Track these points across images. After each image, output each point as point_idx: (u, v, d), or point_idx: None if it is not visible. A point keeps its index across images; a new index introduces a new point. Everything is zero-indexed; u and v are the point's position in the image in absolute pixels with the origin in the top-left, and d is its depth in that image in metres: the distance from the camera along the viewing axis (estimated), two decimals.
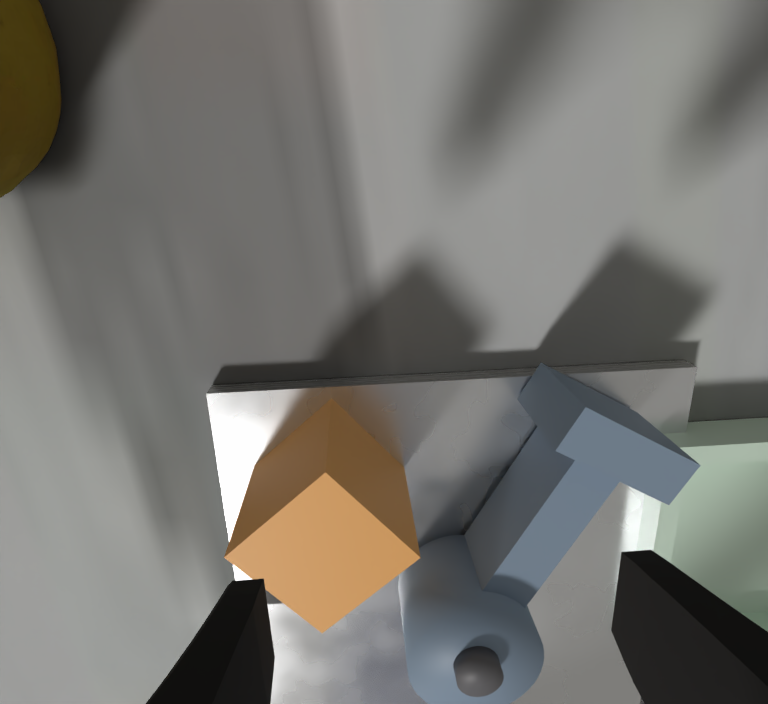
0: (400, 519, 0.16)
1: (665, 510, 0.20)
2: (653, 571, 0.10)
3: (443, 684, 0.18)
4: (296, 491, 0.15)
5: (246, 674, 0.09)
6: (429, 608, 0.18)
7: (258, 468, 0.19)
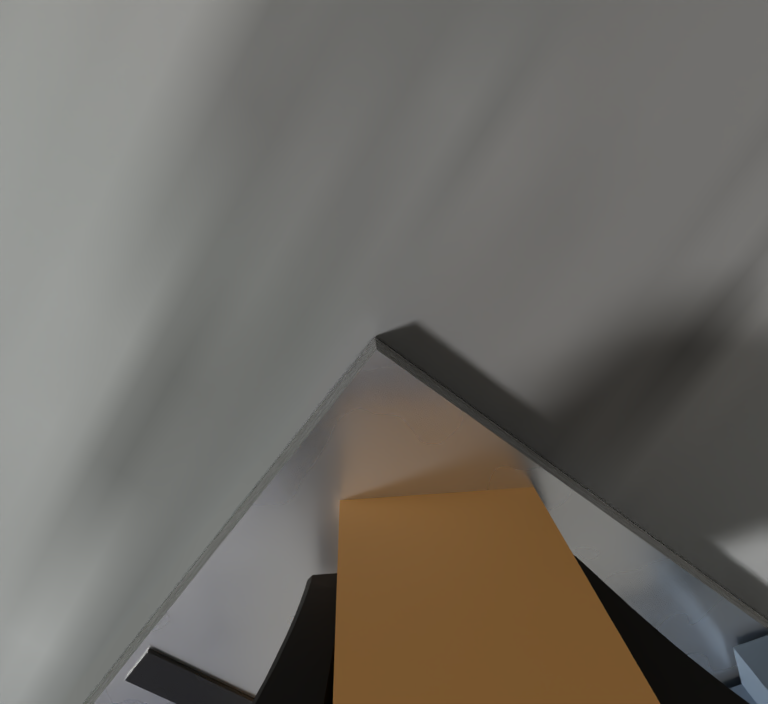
0: None
1: None
2: None
3: None
4: None
5: None
6: None
7: (355, 516, 0.10)
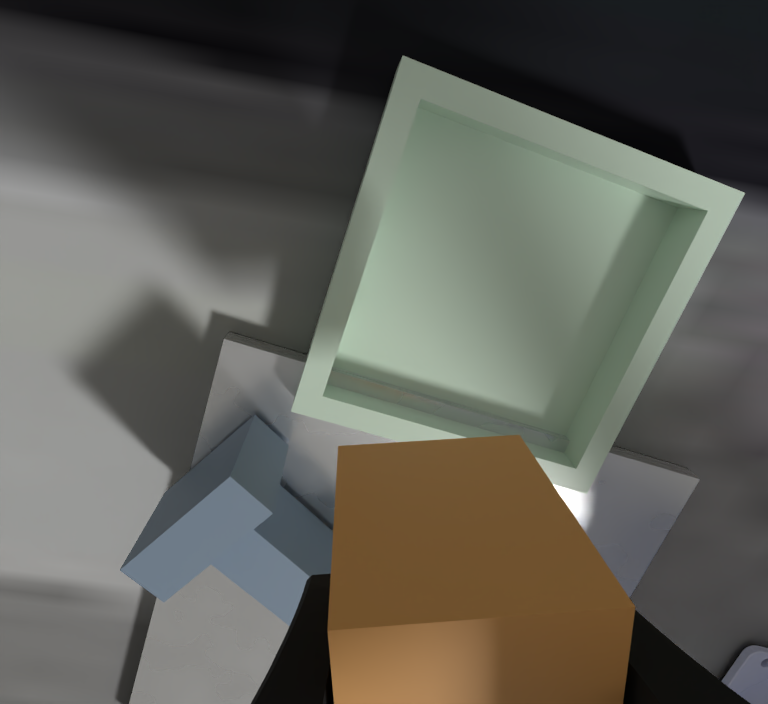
0: None
1: (374, 428, 0.17)
2: None
3: None
4: (539, 595, 0.07)
5: None
6: None
7: (352, 457, 0.11)
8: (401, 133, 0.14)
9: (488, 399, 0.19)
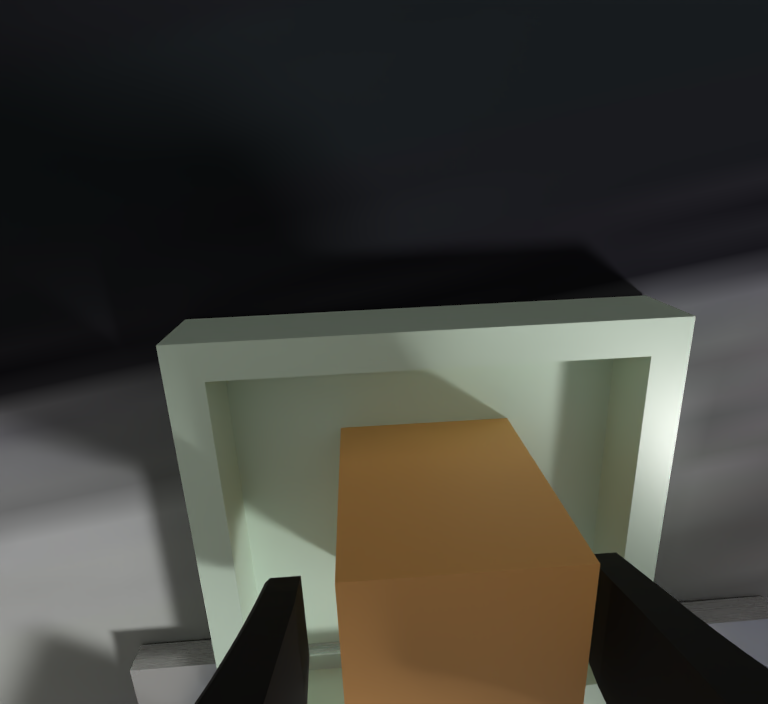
0: None
1: None
2: (615, 574, 0.09)
3: None
4: (518, 554, 0.08)
5: (289, 670, 0.09)
6: None
7: (354, 437, 0.12)
8: (201, 427, 0.11)
9: None
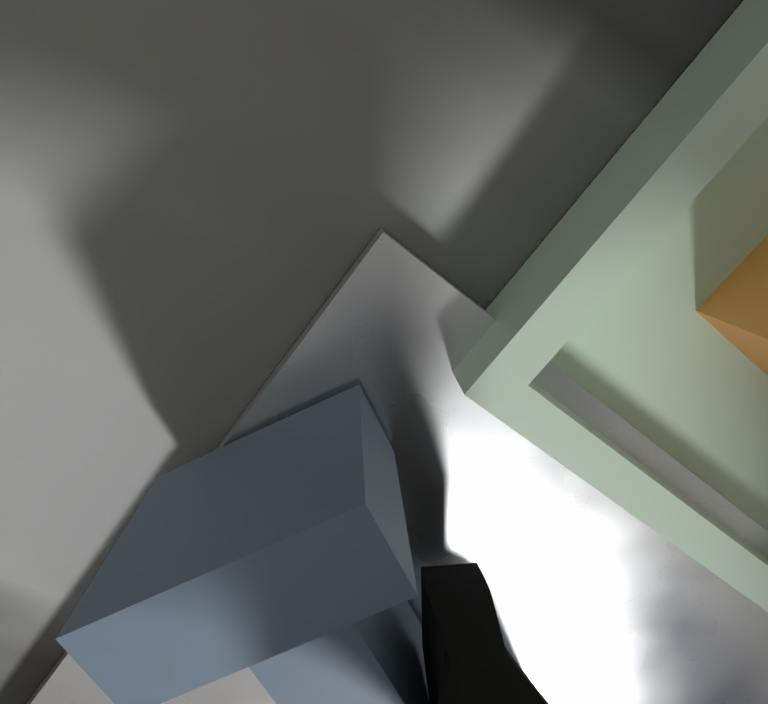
0: None
1: (582, 464, 0.10)
2: (435, 588, 0.09)
3: None
4: None
5: None
6: None
7: None
8: None
9: (719, 465, 0.12)
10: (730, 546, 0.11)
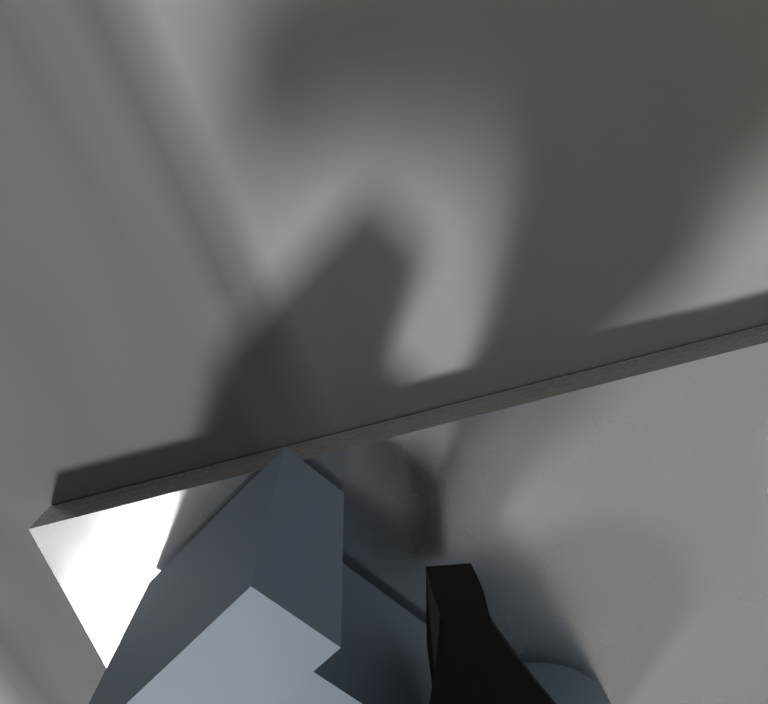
0: None
1: None
2: (440, 587, 0.09)
3: None
4: None
5: None
6: None
7: None
8: None
9: None
10: None
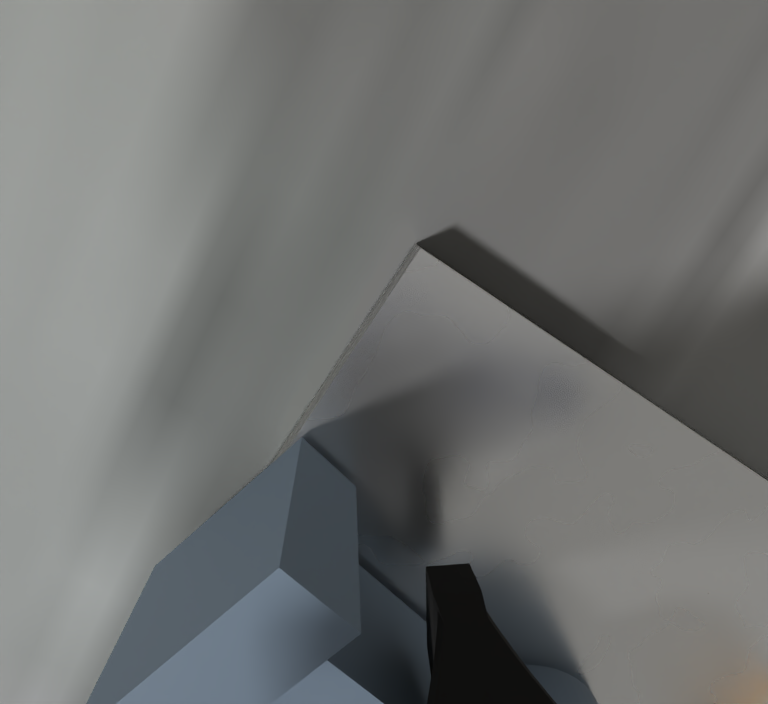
0: None
1: None
2: (440, 587, 0.09)
3: None
4: None
5: None
6: None
7: None
8: None
9: None
10: None
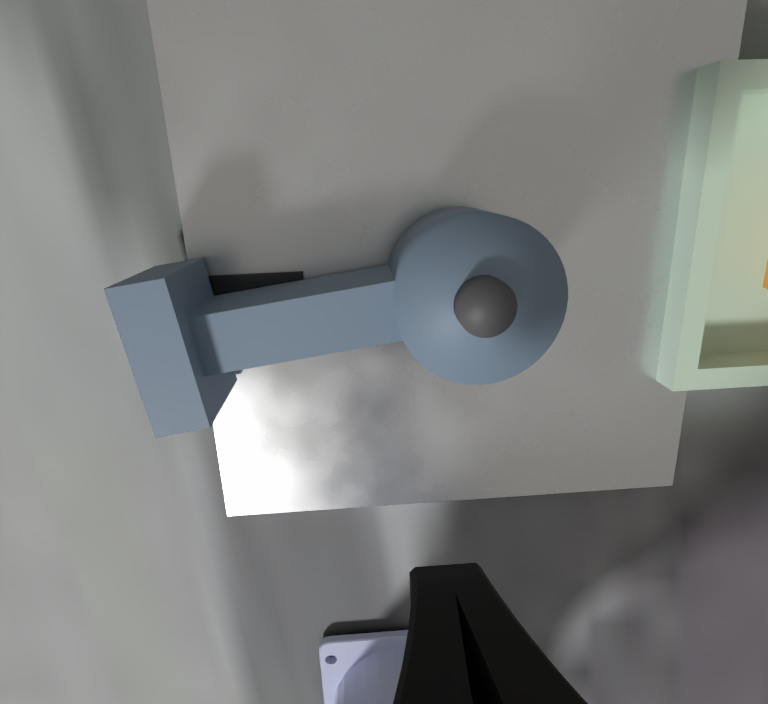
0: None
1: (713, 158, 0.16)
2: (462, 586, 0.09)
3: (530, 315, 0.15)
4: None
5: None
6: None
7: None
8: None
9: None
10: (706, 281, 0.18)
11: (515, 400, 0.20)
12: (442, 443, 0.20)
